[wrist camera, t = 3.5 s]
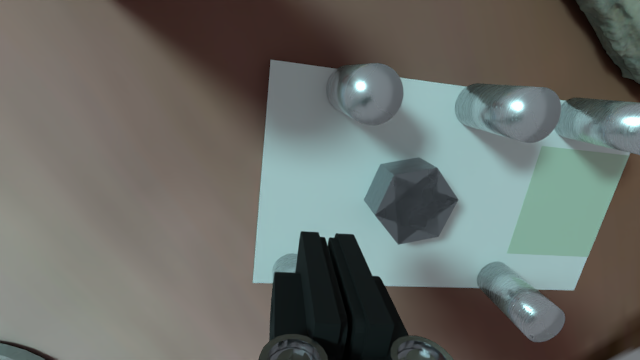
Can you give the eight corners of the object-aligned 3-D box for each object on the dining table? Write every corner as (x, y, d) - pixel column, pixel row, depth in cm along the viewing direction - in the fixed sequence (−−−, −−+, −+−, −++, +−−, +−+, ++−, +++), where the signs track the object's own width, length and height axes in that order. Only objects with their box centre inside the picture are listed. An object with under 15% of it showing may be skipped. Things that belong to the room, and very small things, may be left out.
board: (563, 282, 27) (574, 290, 26) (253, 273, 23) (252, 282, 22) (631, 110, 23) (646, 112, 22) (270, 60, 19) (270, 59, 18)
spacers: (526, 292, 26) (583, 341, 21) (270, 286, 22) (271, 344, 18) (595, 100, 22) (686, 108, 17) (293, 56, 18) (302, 52, 13)
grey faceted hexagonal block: (439, 216, 23) (458, 232, 20) (366, 230, 22) (377, 248, 20) (438, 153, 21) (458, 163, 19) (360, 167, 21) (371, 179, 18)
